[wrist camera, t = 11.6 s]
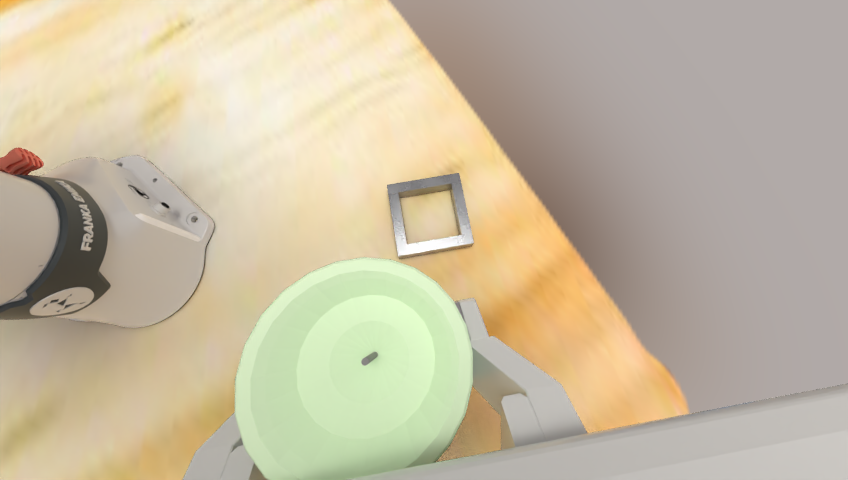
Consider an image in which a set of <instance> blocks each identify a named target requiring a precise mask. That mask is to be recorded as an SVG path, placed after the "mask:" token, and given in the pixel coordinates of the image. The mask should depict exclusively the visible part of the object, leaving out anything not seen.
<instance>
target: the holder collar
mask: <svg viewBox="0 0 848 480" xmlns="http://www.w3.org/2000/svg"><path fill="white" fill-rule="evenodd" d="M387 188H388V194H389V201H390V207H391V214H392V220H393V226H394V233H395V239H396V245H397V252H398V257H399V259H402V258H408V257H413V256H419V255H425V254H431V253H437V252H442V251H448V250H454V249H460V248H465V247H471V246H472V245H473V244H474V241H473V236H472V232H471V227H470V222H469V218H468V213H467V208H466V204H465V199H464V194H463V190H462V185H461V180H460V176H459V173H456V174H450V175H444V176H438V177H432V178H426V179H420V180H414V181H408V182H402V183H396V184H390V185H387ZM446 190H450V192H451V197H452V201H453V206H454V211H455V216H456V221H457V226H458V231H459V235H458V236H452V237H447V238H441V239H435V240H429V241H423V242H418V243H412V244H407V240H406V234H405V228H404V222H403V216H402V210H401V204H400V198H404V197H410V196H416V195H422V194H428V193H434V192H440V191H446Z"/></svg>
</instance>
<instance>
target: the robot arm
mask: <svg viewBox="0 0 848 480" xmlns="http://www.w3.org/2000/svg"><path fill="white" fill-rule="evenodd" d="M43 165H44V164H43V162H42V160H41V159H40V158H39V157H38V156H35V155H34V154H33V153H32V152H29V151H28V150H26V149H22V148H14V149H13V150H11V151H10V152H9V153H8V154H7V155H6V156H5V157H2V158H0V320H14V319H34V318H45V317H58V318H68V319H70V320H72V321H83V322H89V321H95V322H102V323H108V324H112V325H117V326H121V327H127V328H139V327H145V326H149V325H153V324H155V323H158V322H160V321H162V320H164V319H166V318H168V317H169V316H171V315H172V314H174V313H175V312H176V311H177V310H179V309H180V308H181V307H182V306H183V305H184V304H185V303H186V302H187V300H188V299H189V298H190V297H191V295H192V294H193V292H194V290H195V289H196V287H197V285H198V283H199V280H200V278H201V275H202V271H203V267H204V257H205V248H206V245H207V243H208V241H209V239H210V237H211V235H212V232H213V230H214V222H213V220H212V219H211V218H210V217H209V216H208V215H207V214H206V213H205V212H204V211H202V210H201V209H200V208H199V207H198V206H197V205H196V204H195V203H194V202H193V201H192V200H191V199H190V198H189V197H187V196H186V195H185V194H184V193H183V192H182V191H181V190H180V189H179V188H178V187H177V186H176V185H175V184H174V183H172V182H171V181H170V180H169V179H168V178H167V177H166V176H165V175H164V174H163V173H162V172H161V171H160V170H158V169H157V168H156V167H155V166H154V165H153V164H152V163H151V162H150V161H149V160H147V159H146V158H144V157H141V156H139V155H134V156H126V157H122V158H118V159H116V160H113V161H110V162H109V161H106V160H103V159H100V158H95V157H86V158H80V159H75V160H72V161H69V162H67V163H64V164H62V165H60V166H58V167H56V168H54V169H52V170H50V171H48V172H47V173H45V174H43V175H42V176H33V175H28V173H30V172H31V171H34V170H37V169H39V168H41V167H42V166H43ZM197 218H198V220H197V221H196V222H195V220H196V219H197ZM454 302H455V304H456V306H457V308H458V310H459V312H460V314H461V316H462V318H463V320H464V322H465V324H466V326H467V330H468V334H469V338H470V343H471V347H472V351H473V385H472V386H473V387H474V388H475V389H476V390H477V391H478V392H479V393H480V394H481V395H482V396H483V398H484V399H485V400H486V401H487V402H488V403H489V404H490V405H491V406H492V407H493V408H494V409H495V410H496V411H497V412H498V414H499V415H500V416H501V450H498V451H493V452H488V453H483V454H477V455H472V456H467V457H462V458H456V459H451V460H446V461H441V462H435V463H430V464H425V465H420V466H414V467H409V468H404V469H399V470H393V471H388V472H383V473H378V474H373V475H367V476H362V477H357V478H352V479H347V480H848V383H847V384H842V385H837V386H832V387H827V388H822V389H816V390H812V391H806V392H801V393H795V394H790V395H785V396H780V397H775V398H769V399H764V400H759V401H754V402H748V403H743V404H738V405H733V406H728V407H722V408H717V409H712V410H707V411H702V412H696V413H692V414H686V415H681V416H676V417H670V418H665V419H660V420H655V421H650V422H644V423H639V424H634V425H629V426H624V427H618V428H613V429H608V430H603V431H597V432H592V433H587V431H586V430H585V428H584V426H583V424H582V422H581V420H580V418H579V416H578V415H577V413H576V411H575V409H574V407H573V405H572V403H571V401H570V400H569V398H568V396H567V394H566V392H565V390H564V388H563V386H562V385H561V384H560V383H559V382H557V381H556V380H555V379H553V378H552V377H550V376H549V375H548V374H546V373H545V372H543V371H542V370H541V369H539V368H538V367H536V366H535V365H534V364H532V363H531V362H530V361H528V360H527V359H525V358H524V357H523V356H521V355H520V354H518V353H517V352H516V351H514V350H513V349H511V348H510V347H509V346H507V345H506V344H504V343H503V342H502V341H500V340H499V339H497V338H496V337H495V336H490V337H489V335H488V332H487V330H486V327H485V324H484V322H483V319H482V316H481V314H480V311H479V308H478V306H477V303H476V300H475V299H474V298H469V299H464V300H458V301H454ZM183 480H267V479H266V478H264V476H263V475H262V473H261V472H260V470H259V469H258V467H257V466H256V465H255V463H254V462H253V460H252V459H251V457H250V456H249V454H248V453H247V452H246V450H245V448H244V445H243V442H242V438H241V435H240V431H239V428H238V424H237V421H236V418H235V412H234V413H233V414H232V415H231V416H230V417H229V418H228V419H227V420H226V421H225V422H224V423H223V425H222V426H221V427H220V428H219V429H218V430H217V431H216V432H215V433H214V434H213V435H212V436H211V437H210V438H209V439H208V440H207V441H206V442H205V443H204V444H203V445H202V446H201V447H200V448H199V449H198V450H197V451H196V452H195V454H194V456H193V458H192V461H191V463H190V465H189V467H188V469H187V471H186V473H185V476H184V478H183Z"/></svg>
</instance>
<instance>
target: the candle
mask: <svg viewBox="0 0 848 480" xmlns="http://www.w3.org/2000/svg"><path fill="white" fill-rule="evenodd" d="M472 385H473V351H472V347H471V343H470V338H469V334H468V330H467V326H466V324H465V322H464V320H463V318H462V316H461V314H460V312H459V310H458V308H457V306H456V304H455V302H454V301H453V300H452V299H451V298H450V296H449V295H448V294H447V293H446V292H445V291H444V290H443V289H442V288H441V286H440V285H439V284H438V283H437V282H436V281H434V280H433V279H431V278H430V277H428V276H427V275H425V274H424V273H422V272H421V271H419V270H418V269H416V268H414V267H411V266H408V265H405V264H402V263H399V262H396V261H394V260H391V259H379V258H367V257H363V258H356V259H350V260H344V261H337V262H334V263H332V264H329V265H327V266H324V267H322V268H320V269H317V270H315V271H312V272H310V273H308V274H307V275H305V276H304V277H302V278H301V279H299V280H298V281H297V282H295V283H294V284H292V285H291V286H289V287H288V288H287V289H285V290H284V291H283V292H282V293H281V294H280V295H279V296H278V297H277V298H276V299H275V300H274V302H273V303H272V304H271V305H270V306H269V307H268V308H267V309H266V310H265V311H264V313H263V314H262V315H261V316H260V318H259V320H258V322H257V323H256V325H255V327H254V329H253V331H252V332H251V334H250V336H249V338H248V340H247V341H246V343H245V345H244V348H243V352H242V356H241V359H240V363H239V366H238V370H237V374H236V377H235V418H236V421H237V424H238V428H239V431H240V435H241V438H242V442H243V445H244V448H245V450H246V452H247V453H248V454H249V456H250V457H251V459H252V460H253V462H254V463H255V465H256V466H257V467H258V469H259V470H260V472H261V473H262V475H263V476H264V478H266V479H267V480H347V479H352V478H357V477H362V476H367V475H373V474H378V473H383V472H388V471H393V470H399V469H404V468H409V467H414V466H420V465H425V464H430V463H435V462H436V461H437V460H438V459H439V458H440V456H441V455H442V454H443V453H444V452H445V451H446V449H447V448H448V447H449V446H450V444H451V442H452V440H453V438H454V436H455V434H456V432H457V430H458V428H459V426H460V424H461V422H462V420H463V418H464V416H465V414H466V410H467V406H468V402H469V397H470V393H471V389H472Z"/></svg>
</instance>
